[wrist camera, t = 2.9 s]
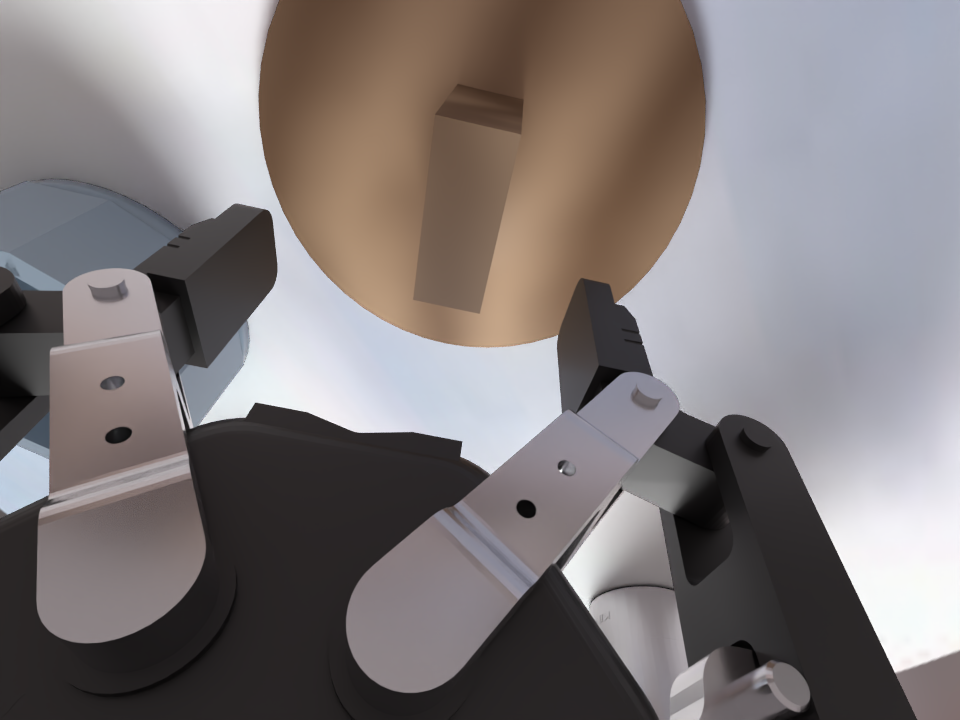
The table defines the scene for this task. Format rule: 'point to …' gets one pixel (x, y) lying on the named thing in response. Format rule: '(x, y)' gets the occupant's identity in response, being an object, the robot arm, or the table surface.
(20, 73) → the table surface
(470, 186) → the lid
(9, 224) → the bowl
